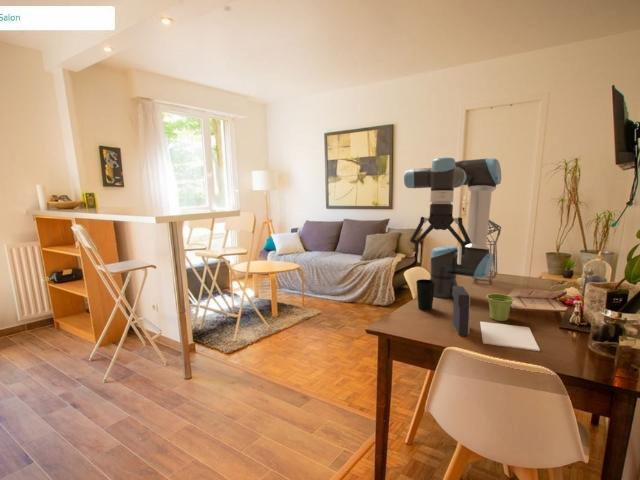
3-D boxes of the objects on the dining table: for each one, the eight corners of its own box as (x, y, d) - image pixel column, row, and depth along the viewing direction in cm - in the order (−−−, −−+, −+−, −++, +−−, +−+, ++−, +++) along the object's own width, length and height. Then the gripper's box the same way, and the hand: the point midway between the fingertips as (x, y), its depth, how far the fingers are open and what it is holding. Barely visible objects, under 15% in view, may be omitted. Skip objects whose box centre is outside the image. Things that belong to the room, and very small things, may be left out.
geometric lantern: (497, 287, 168) (501, 219, 162) (464, 283, 176) (466, 218, 171) (499, 280, 181) (503, 216, 176) (468, 276, 189) (470, 216, 184)
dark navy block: (470, 336, 114) (472, 295, 112) (457, 335, 115) (458, 294, 113) (463, 323, 125) (464, 286, 123) (451, 323, 126) (452, 285, 123)
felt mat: (480, 322, 125) (480, 321, 125) (528, 328, 119) (528, 327, 119) (483, 343, 109) (483, 341, 109) (539, 351, 103) (539, 349, 103)
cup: (434, 306, 144) (435, 279, 142) (434, 312, 137) (435, 284, 135) (416, 304, 147) (416, 278, 145) (415, 310, 139) (415, 283, 138)
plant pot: (487, 321, 126) (488, 300, 125) (484, 312, 135) (485, 292, 134) (514, 324, 123) (516, 302, 122) (509, 315, 132) (511, 294, 130)
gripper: (404, 203, 114) (402, 263, 116) (482, 203, 108) (478, 266, 110) (404, 203, 121) (402, 259, 124) (477, 203, 115) (474, 262, 118)
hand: (438, 263), depth 117 cm, fingers open, 13 cm apart
